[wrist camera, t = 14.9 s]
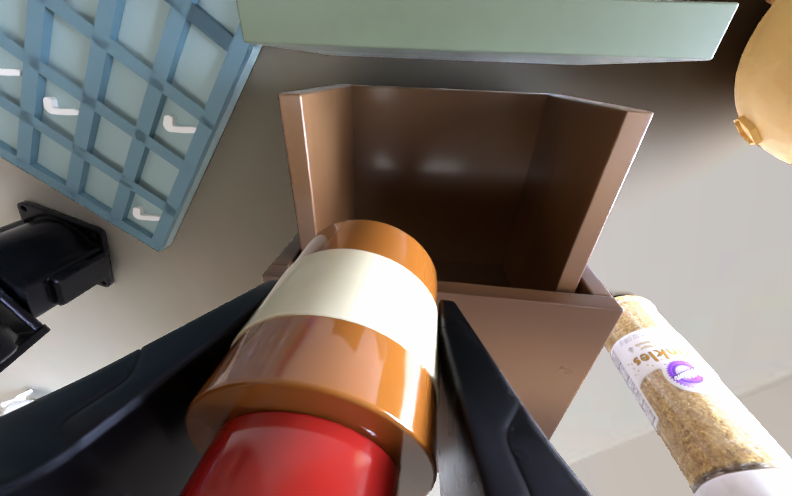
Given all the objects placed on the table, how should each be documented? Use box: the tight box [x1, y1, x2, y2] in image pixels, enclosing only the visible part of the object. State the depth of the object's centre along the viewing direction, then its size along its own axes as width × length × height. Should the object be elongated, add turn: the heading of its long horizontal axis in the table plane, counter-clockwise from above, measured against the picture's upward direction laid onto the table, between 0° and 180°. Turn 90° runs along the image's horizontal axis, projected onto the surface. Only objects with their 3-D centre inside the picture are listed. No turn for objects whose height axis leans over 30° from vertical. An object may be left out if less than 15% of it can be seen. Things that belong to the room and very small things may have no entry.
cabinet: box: [262, 232, 624, 472], centre depth 20 cm, size 15×14×10 cm
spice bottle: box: [179, 220, 440, 496], centre depth 7 cm, size 4×4×6 cm
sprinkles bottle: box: [604, 295, 792, 496], centre depth 18 cm, size 5×5×14 cm
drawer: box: [236, 0, 739, 293], centre depth 13 cm, size 18×13×8 cm
